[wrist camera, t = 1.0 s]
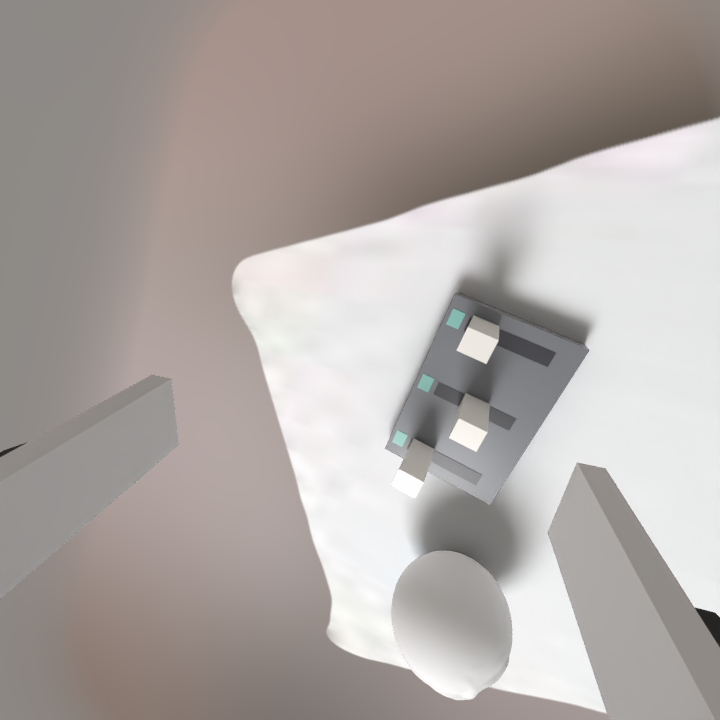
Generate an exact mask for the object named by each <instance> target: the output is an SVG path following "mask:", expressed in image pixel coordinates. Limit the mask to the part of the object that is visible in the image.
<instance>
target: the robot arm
mask: <svg viewBox="0 0 720 720" xmlns="http://www.w3.org/2000/svg"><path fill="white" fill-rule="evenodd" d="M178 445H179V443H178V434H177V425H176V417H175V407H174V398H173V390H172V379H170V378H165V377H160V376H155V375H151V376H149V377H147V378H145V379H143V380H141V381H140V382H138V383H136V384H134V385H132V386H130V387H129V388H127V389H125V390H123V391H121V392H120V393H118V394H116V395H114V396H112V397H110V398H108V399H107V400H105V401H103V402H101V403H99V404H97V405H96V406H94V407H92V408H90V409H88V410H87V411H85V412H83V413H81V414H79V415H77V416H75V417H73V418H72V419H70V420H68V421H66V422H64V423H62V424H61V425H59V426H57V427H55V428H53V429H51V430H50V431H48V432H46V433H44V434H42V435H41V436H39V437H37V438H35V439H33V440H31V441H29V442H27V443H24V444H21V445H19V446H16V447H13V448H10V449H7V450H4V451H2V452H0V599H1V598H2V597H3V596H4V595H5V594H7V593H8V592H9V591H10V590H11V589H12V588H13V587H15V586H16V585H17V584H18V583H19V582H20V581H22V580H23V579H24V578H25V577H26V576H27V575H29V573H31V572H32V571H33V570H34V569H35V568H37V567H38V566H39V565H40V564H41V563H42V562H43V561H45V560H46V559H47V558H48V557H49V556H50V555H52V554H53V553H54V552H55V551H56V550H57V549H59V548H60V547H61V546H62V545H63V544H64V543H66V542H67V541H68V540H69V539H70V538H71V537H72V536H74V535H75V534H76V533H77V532H78V531H79V530H81V529H82V528H83V527H84V526H85V525H86V524H87V523H89V522H90V521H91V520H92V519H93V518H94V517H96V516H97V515H98V514H99V513H100V512H101V511H103V510H104V509H105V508H106V507H107V506H108V505H110V504H111V503H112V502H113V501H114V500H115V499H117V498H118V497H119V496H120V495H121V494H122V493H123V492H124V491H126V490H127V489H128V488H129V487H130V486H131V485H133V484H134V483H135V482H136V481H137V480H139V479H140V478H141V477H142V476H143V475H144V474H145V473H147V472H148V471H149V470H150V469H151V468H152V467H154V466H155V465H156V464H157V463H158V462H159V461H161V460H162V459H163V458H164V457H165V456H166V455H167V454H169V453H170V452H171V451H172V450H173V449H174V448H176V447H177V446H178ZM548 535H549V538H550V541H551V544H552V547H553V550H554V553H555V556H556V559H557V562H558V565H559V568H560V571H561V574H562V577H563V580H564V583H565V586H566V590H567V593H568V596H569V599H570V602H571V605H572V608H573V611H574V614H575V617H576V620H577V623H578V626H579V629H580V632H581V635H582V638H583V641H584V645H585V648H586V651H587V654H588V657H589V660H590V663H591V666H592V669H593V672H594V675H595V678H596V681H597V684H598V687H599V690H600V693H601V696H602V699H603V703H604V706H605V709H606V712H607V715H608V718H609V720H720V617H719V616H718V615H717V614H716V613H714V612H710V611H706V610H702V609H698V608H694V606H693V605H692V603H691V602H690V600H689V599H688V597H687V595H686V594H685V592H684V591H683V589H682V588H681V586H680V584H679V583H678V581H677V580H676V578H675V577H674V575H673V573H672V572H671V570H670V569H669V567H668V566H667V564H666V562H665V561H664V559H663V558H662V556H661V555H660V553H659V552H658V550H657V548H656V547H655V545H654V544H653V542H652V541H651V539H650V537H649V536H648V534H647V533H646V531H645V530H644V528H643V526H642V525H641V523H640V522H639V520H638V519H637V517H636V515H635V514H634V512H633V511H632V509H631V508H630V506H629V505H628V503H627V501H626V500H625V498H624V497H623V495H622V494H621V492H620V490H619V489H618V487H617V486H616V484H615V483H614V481H613V479H612V478H611V476H610V475H609V473H608V472H607V470H606V469H605V468H601V467H596V466H591V465H586V464H581V463H577V464H576V466H575V468H574V471H573V473H572V476H571V478H570V480H569V483H568V485H567V488H566V490H565V492H564V495H563V497H562V500H561V502H560V504H559V507H558V509H557V512H556V514H555V516H554V519H553V521H552V524H551V526H550V528H549V531H548Z"/></svg>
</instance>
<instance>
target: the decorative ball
mask: <svg viewBox="0 0 720 720" xmlns="http://www.w3.org/2000/svg"><path fill="white" fill-rule="evenodd" d="M391 614H392V625H393V631H394V635H395V639H396V642H397V644H398V647H399V649H400V652H401V654H402V656H403V658H404V659H405V661H406V663H407V664H408V666H409V667H410V668H411V670H412V671H413V672H414V673H415V674H416V675H417V676H418V677H419V678H420V679H421V680H422V681H424V682H425V683H426V684H428V685H429V686H431V687H432V688H433V689H434V690H435V691H437V692H439V693H440V694H442V695H444V696H446V697H449V698H452V699H455V700H465V699H473V698H474V697H475V696H476V695H477V693H479V692H480V691H481V690H483V689H484V688H487V687H489V686H491V685H493V684H494V683H496V682H497V681H498V680H499V678H500V677H501V676H502V674H503V673H504V671H505V669H506V667H507V665H508V662H509V655H510V651H511V646H512V621H511V615H510V611H509V607H508V604H507V601H506V599H505V596H504V594H503V592H502V590H501V588H500V587H499V585H498V583H497V582H496V581H495V579H494V578H493V577H492V575H491V574H490V573H489V572H488V571H487V570H486V569H485V568H484V567H483V566H482V565H480V564H479V563H478V562H476V561H475V560H473V559H472V558H470V557H468V556H466V555H464V554H461V553H458V552H453V551H445V550H442V551H433V552H430V553H427V554H424V555H422V556H420V557H418V558H417V559H415V560H414V561H413V562H412V563H411V564H410V565H409V566H408V567H407V568H406V569H405V570H404V572H403V573H402V575H401V576H400V578H399V580H398V582H397V585H396V587H395V591H394V594H393V599H392V611H391Z"/></svg>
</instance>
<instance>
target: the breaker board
mask: <svg viewBox="0 0 720 720" xmlns="http://www.w3.org/2000/svg"><path fill="white" fill-rule="evenodd" d="M473 315H474V316H477V317H479V318H481V319H484V320H486V321H489V322H491V323H493V324H496V325H498V326H499V341H498V343H497V345H496V347H495V349H494V350H493V352H492V354H491V356H490V358H489V360H488V362H487V364H485V363H483V362H481V361H478V360H476V359H474V358H472V357H470V356H467V355H465V354H463V353H461V352H458V351H456V350H457V348H458V346H459V344H460V342H461V340H462V338H463V336H464V334H465V332H466V330H467V328H468V326H469V324H470V322H471V320H472V317H473ZM588 352H589V349H588V348H587V347H586V346H585V345H584V344H581V343H579V342H577V341H574V340H572V339H569V338H567V337H564V336H562V335H560V334H557V333H555V332H552V331H550V330H547V329H545V328H543V327H540V326H538V325H535V324H533V323H530V322H528V321H526V320H523V319H521V318H518V317H516V316H513V315H511V314H508V313H506V312H504V311H501V310H499V309H496V308H494V307H491V306H489V305H487V304H484V303H482V302H479V301H477V300H474V299H472V298H470V297H467V296H465V295H462V294H460V293H456V294H455V295H454V297H453V299H452V302H451V304H450V306H449V308H448V310H447V313H446V315H445V317H444V319H443V321H442V324H441V326H440V328H439V330H438V332H437V335H436V337H435V339H434V341H433V344H432V346H431V348H430V350H429V352H428V355H427V357H426V359H425V361H424V363H423V366H422V368H421V370H420V372H419V374H418V377H417V379H416V381H415V383H414V385H413V388H412V390H411V392H410V394H409V396H408V399H407V401H406V403H405V405H404V407H403V410H402V412H401V414H400V416H399V418H398V421H397V423H396V425H395V427H394V429H393V432H392V434H391V436H390V438H389V441H388V443H387V445H386V447H385V449H387V450H389V451H390V452H392V453H394V454H396V455H398V456H400V457H402V458H403V459H404V457H405V455H406V453H407V451H408V449H409V447H410V445H411V443H412V441H413V439H416V440H418V441H420V442H422V443H424V444H426V445H428V446H429V447H431V448H433V449H435V451H434V454H433V457H432V460H431V463H430V466H429V468H428V472H429V473H431V474H433V475H435V476H437V477H439V478H441V479H442V480H444V481H446V482H448V483H450V484H452V485H454V486H455V487H457V488H459V489H461V490H463V491H465V492H467V493H468V494H470V495H472V496H474V497H476V498H478V499H480V500H481V501H483V502H485V503H487V504H489V505H490V504H491V503H492V501H493V499H494V498H495V496H496V495H497V493H498V492H499V490H500V489H501V487H502V485H503V484H504V482H505V481H506V479H507V478H508V476H509V475H510V473H511V471H512V470H513V468H514V467H515V465H516V464H517V462H518V461H519V459H520V457H521V456H522V454H523V453H524V451H525V450H526V448H527V447H528V445H529V443H530V442H531V440H532V439H533V437H534V436H535V434H536V433H537V431H538V429H539V428H540V426H541V425H542V423H543V422H544V420H545V419H546V417H547V415H548V414H549V412H550V411H551V409H552V408H553V406H554V405H555V403H556V401H557V400H558V398H559V397H560V395H561V394H562V392H563V391H564V389H565V387H566V386H567V384H568V383H569V381H570V380H571V378H572V377H573V375H574V373H575V372H576V370H577V369H578V367H579V366H580V364H581V363H582V361H583V359H584V358H585V356H586V355H587V353H588ZM466 393H467V394H469V395H471V396H473V397H475V398H478V399H480V400H482V401H484V402H486V403H488V404H490V410H489V422H488V433H487V434H486V436H485V438H484V439H483V441H482V443H481V445H480V446H479V448H478V450H477V452H475V451H473V450H471V449H469V448H467V447H465V446H463V445H461V444H459V443H458V442H456V441H454V440H452V439H450V438H449V435H450V432H451V428H452V425H453V421H454V418H455V415H456V411H457V409H458V407H459V405H460V403H461V401H462V399H463V397H464V396H465V394H466Z"/></svg>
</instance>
